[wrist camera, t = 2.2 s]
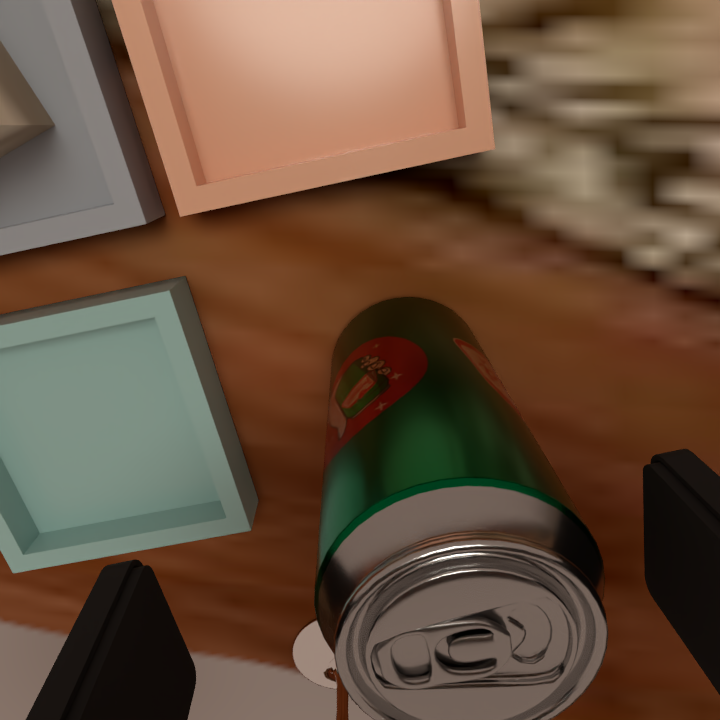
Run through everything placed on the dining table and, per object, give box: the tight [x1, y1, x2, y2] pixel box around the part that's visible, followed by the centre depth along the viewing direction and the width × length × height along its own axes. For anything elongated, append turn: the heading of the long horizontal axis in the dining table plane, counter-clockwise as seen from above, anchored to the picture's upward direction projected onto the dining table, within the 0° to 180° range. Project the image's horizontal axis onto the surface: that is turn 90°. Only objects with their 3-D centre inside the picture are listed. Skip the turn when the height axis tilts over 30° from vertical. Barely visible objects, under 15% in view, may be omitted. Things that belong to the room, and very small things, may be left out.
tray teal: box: [0, 276, 258, 573], centre depth 20 cm, size 9×9×2 cm
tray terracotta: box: [112, 0, 495, 217], centre depth 15 cm, size 9×9×2 cm
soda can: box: [314, 297, 608, 720], centre depth 15 cm, size 5×5×12 cm
